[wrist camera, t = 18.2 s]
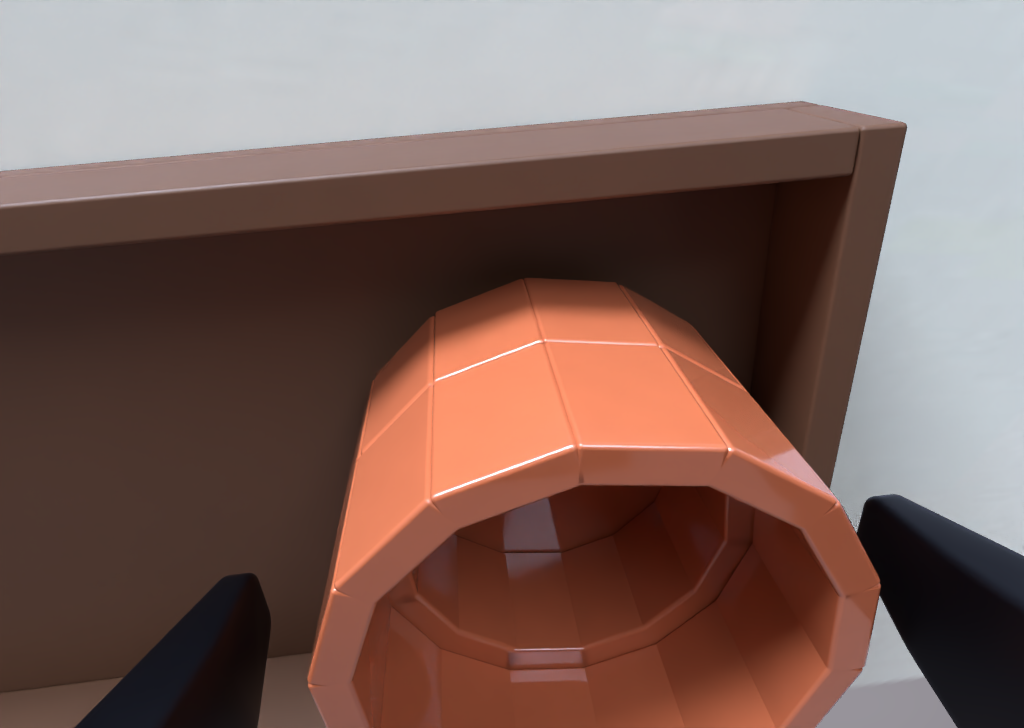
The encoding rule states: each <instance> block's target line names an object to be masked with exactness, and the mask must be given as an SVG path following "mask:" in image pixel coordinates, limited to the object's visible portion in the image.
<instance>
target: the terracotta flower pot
mask: <svg viewBox="0 0 1024 728" xmlns="http://www.w3.org/2000/svg"><path fill="white" fill-rule="evenodd" d="M880 590H881V585H880V578H879V575H878V574H877V572H876V570H875V568H874V566H873V564H872V562H871V560H870V558H869V556H868V554H867V553H866V551H865V549H864V547H863V545H862V543H861V541H860V539H859V537H858V535H857V533H856V531H855V530H854V528H853V526H852V524H851V522H850V520H849V518H848V516H847V514H846V512H845V510H844V508H843V507H842V505H841V503H840V501H839V500H838V499H837V498H836V497H835V495H834V494H833V493H832V492H831V491H830V489H829V488H828V487H827V486H826V485H825V483H824V482H823V481H822V480H821V479H820V477H819V476H818V475H817V474H816V473H815V471H814V470H813V469H812V468H811V467H810V465H809V464H808V463H807V462H806V461H805V459H804V458H803V457H802V456H801V455H800V453H799V452H798V451H797V450H796V449H795V447H794V446H793V445H792V444H791V443H790V441H789V440H788V439H787V438H786V437H785V435H784V434H783V433H782V432H781V431H780V429H779V428H778V427H777V426H776V425H775V423H774V422H773V421H772V420H771V419H770V417H769V416H768V415H767V414H766V413H765V411H764V410H763V409H762V408H761V407H760V406H759V404H758V403H757V402H756V401H755V400H754V398H753V397H751V396H750V394H749V392H748V391H747V390H746V389H745V388H744V386H743V385H742V384H741V383H740V382H739V380H738V379H737V378H736V377H735V376H734V374H733V373H732V372H731V371H730V370H729V368H728V367H727V366H726V365H725V364H724V362H723V361H722V360H721V359H720V358H719V356H718V355H717V354H716V353H715V352H714V350H713V349H712V348H711V347H710V346H709V344H708V343H707V342H706V341H705V340H704V338H703V337H702V336H701V335H700V334H699V332H698V331H697V330H696V329H695V328H694V327H693V326H691V325H690V323H689V322H687V321H685V320H683V319H682V318H680V317H678V316H676V315H675V314H673V313H671V312H669V311H667V310H666V309H664V308H662V307H660V306H659V305H657V304H655V303H653V302H652V301H650V300H648V299H646V298H644V297H643V296H641V295H639V294H637V293H636V292H634V291H632V290H630V289H629V288H627V287H625V286H623V285H618V283H616V282H601V281H582V280H563V279H543V278H524V280H523V279H519V280H516V281H514V282H511V283H508V284H506V285H503V286H501V287H498V288H496V289H493V290H491V291H488V292H485V293H483V294H480V295H478V296H475V297H473V298H470V299H467V300H465V301H462V302H460V303H457V304H455V305H452V306H450V307H447V308H444V309H442V310H439V311H437V312H436V313H435V316H432V317H430V318H429V319H428V320H427V321H426V322H425V323H424V324H423V325H422V326H421V327H420V328H419V329H418V330H417V331H416V332H415V333H414V335H413V336H412V337H411V338H410V339H409V340H408V341H407V342H406V343H405V344H404V345H403V346H402V347H401V348H400V349H399V350H398V351H397V353H396V354H395V355H394V356H393V357H392V358H391V359H390V360H389V361H388V362H387V363H386V364H385V365H384V366H383V367H382V368H381V369H380V371H379V372H378V373H377V374H376V376H375V379H374V380H373V381H372V382H371V385H370V389H369V393H368V397H367V401H366V404H365V408H364V412H363V416H362V420H361V424H360V428H359V432H358V436H357V440H356V444H355V448H354V452H353V457H352V462H351V467H350V472H349V477H348V481H347V486H346V491H345V496H344V501H343V506H342V511H341V515H340V520H339V525H338V530H337V536H336V540H335V544H334V549H333V554H332V558H331V563H330V568H329V573H328V578H327V583H326V587H325V592H324V597H323V602H322V607H321V612H320V616H319V621H318V626H317V631H316V636H315V641H314V646H313V650H312V655H311V660H310V665H309V670H308V675H307V680H308V688H309V690H310V693H311V695H312V697H313V699H314V701H315V704H316V706H317V708H318V710H319V712H320V715H321V717H322V719H323V721H324V723H325V726H326V728H816V727H817V725H818V724H819V723H820V722H821V720H822V719H823V718H824V717H825V716H826V714H827V713H828V712H829V711H830V710H831V708H832V707H833V706H834V705H835V704H836V702H837V701H838V700H839V698H840V697H841V696H842V695H843V694H844V693H845V692H846V690H847V689H848V688H849V687H850V685H851V684H852V683H853V682H854V681H855V679H856V678H857V677H858V676H859V675H860V673H861V672H862V670H863V667H864V666H865V664H866V659H867V654H868V649H869V644H870V639H871V634H872V629H873V625H874V620H875V615H876V610H877V605H878V600H879V595H880Z"/></svg>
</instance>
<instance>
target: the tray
mask: <svg viewBox="0 0 1024 728" xmlns="http://www.w3.org/2000/svg"><path fill="white" fill-rule="evenodd" d="M906 130H907V125H906V123H903V122H899V121H894V120H890V119H885V118H880V117H875V116H871V115H866V114H861V113H856V112H852V111H847V110H842V109H838V108H833V107H828V106H823V105H817V104H813V103H808V102H803V101H799V102H787V103H776V104H765V105H753V106H742V107H730V108H719V109H707V110H696V111H685V112H673V113H662V114H650V115H639V116H627V117H616V118H605V119H593V120H582V121H570V122H559V123H548V124H536V125H525V126H513V127H502V128H490V129H479V130H468V131H456V132H445V133H433V134H422V135H410V136H399V137H388V138H376V139H365V140H353V141H342V142H330V143H319V144H308V145H296V146H285V147H273V148H262V149H250V150H239V151H228V152H216V153H205V154H193V155H182V156H170V157H159V158H148V159H136V160H125V161H113V162H102V163H91V164H79V165H68V166H56V167H45V168H33V169H22V170H11V171H0V728H74V727H75V726H76V725H77V724H78V723H79V722H80V721H81V720H82V719H83V718H84V717H85V716H86V715H87V714H88V713H89V712H90V711H91V710H92V709H93V708H94V707H95V706H96V705H97V704H98V703H99V702H100V701H101V700H102V699H103V698H104V697H105V696H106V695H107V694H108V693H109V692H110V691H111V690H112V689H113V688H114V687H115V686H116V685H117V684H118V683H119V682H120V681H121V680H122V679H123V678H124V677H125V676H126V675H127V674H128V673H129V672H130V671H131V670H132V668H133V667H134V666H135V665H136V664H137V663H138V662H139V661H140V660H141V659H142V658H143V657H144V656H145V655H146V654H147V653H148V652H149V651H150V650H151V649H152V648H153V647H154V646H155V645H156V644H157V643H158V642H159V641H160V640H161V639H162V638H163V637H164V636H165V635H166V634H167V633H168V632H169V631H170V630H171V629H172V628H173V627H174V626H175V625H176V624H177V623H178V622H179V621H180V620H181V619H182V618H183V617H184V616H185V615H186V614H187V613H188V612H189V611H190V610H191V609H192V608H193V607H194V606H195V605H196V604H197V603H198V602H199V601H200V600H201V599H202V597H203V596H204V595H205V594H206V593H207V592H208V591H209V590H210V589H211V588H212V587H213V586H214V585H215V584H216V583H217V582H218V581H219V580H220V579H222V578H223V577H225V576H228V575H234V574H242V573H253V574H255V575H256V576H257V578H258V580H259V583H260V585H261V588H262V591H263V594H264V596H265V599H266V602H267V605H268V608H269V611H270V615H271V632H270V640H269V647H268V654H267V662H266V669H265V677H264V684H263V691H262V699H261V706H260V713H259V721H258V727H257V728H326V726H325V723H324V721H323V719H322V717H321V715H320V712H319V710H318V708H317V706H316V704H315V701H314V699H313V697H312V695H311V693H310V690H309V688H308V680H307V675H308V670H309V665H310V660H311V655H312V650H313V646H314V641H315V636H316V631H317V626H318V621H319V616H320V612H321V607H322V602H323V597H324V592H325V587H326V583H327V578H328V573H329V568H330V563H331V558H332V554H333V549H334V544H335V540H336V536H337V530H338V525H339V520H340V515H341V511H342V506H343V501H344V496H345V491H346V486H347V481H348V477H349V472H350V467H351V462H352V457H353V452H354V448H355V444H356V440H357V436H358V432H359V428H360V424H361V420H362V416H363V412H364V408H365V404H366V401H367V397H368V393H369V389H370V385H371V382H372V381H373V380H374V379H375V376H376V374H377V373H378V372H379V371H380V369H381V368H382V367H383V366H384V365H385V364H386V363H387V362H388V361H389V360H390V359H391V358H392V357H393V356H394V355H395V354H396V353H397V351H398V350H399V349H400V348H401V347H402V346H403V345H404V344H405V343H406V342H407V341H408V340H409V339H410V338H411V337H412V336H413V335H414V333H415V332H416V331H417V330H418V329H419V328H420V327H421V326H422V325H423V324H424V323H425V322H426V321H427V320H428V319H429V318H430V317H432V316H435V313H436V312H437V311H439V310H442V309H444V308H447V307H450V306H452V305H455V304H457V303H460V302H462V301H465V300H467V299H470V298H473V297H475V296H478V295H480V294H483V293H485V292H488V291H491V290H493V289H496V288H498V287H501V286H503V285H506V284H508V283H511V282H514V281H516V280H519V279H523V280H524V278H543V279H563V280H582V281H601V282H616V283H618V285H623V286H625V287H627V288H629V289H630V290H632V291H634V292H636V293H637V294H639V295H641V296H643V297H644V298H646V299H648V300H650V301H652V302H653V303H655V304H657V305H659V306H660V307H662V308H664V309H666V310H667V311H669V312H671V313H673V314H675V315H676V316H678V317H680V318H682V319H683V320H685V321H687V322H689V323H690V325H691V326H693V327H694V328H695V329H696V330H697V331H698V332H699V334H700V335H701V336H702V337H703V338H704V340H705V341H706V342H707V343H708V344H709V346H710V347H711V348H712V349H713V350H714V352H715V353H716V354H717V355H718V356H719V358H720V359H721V360H722V361H723V362H724V364H725V365H726V366H727V367H728V368H729V370H730V371H731V372H732V373H733V374H734V376H735V377H736V378H737V379H738V380H739V382H740V383H741V384H742V385H743V386H744V388H745V389H746V390H747V391H748V392H749V394H750V396H751V397H753V398H754V400H755V401H756V402H757V403H758V404H759V406H760V407H761V408H762V409H763V410H764V411H765V413H766V414H767V415H768V416H769V417H770V419H771V420H772V421H773V422H774V423H775V425H776V426H777V427H778V428H779V429H780V431H781V432H782V433H783V434H784V435H785V437H786V438H787V439H788V440H789V441H790V443H791V444H792V445H793V446H794V447H795V449H796V450H797V451H798V452H799V453H800V455H801V456H802V457H803V458H804V459H805V461H806V462H807V463H808V464H809V465H810V467H811V468H812V469H813V470H814V471H815V473H816V474H817V475H818V476H819V477H820V479H821V480H822V481H823V482H824V483H825V485H826V486H827V487H828V488H829V489H830V485H831V481H832V476H833V471H834V467H835V462H836V457H837V453H838V448H839V443H840V439H841V434H842V429H843V425H844V420H845V415H846V411H847V406H848V401H849V396H850V392H851V387H852V382H853V378H854V373H855V368H856V364H857V359H858V354H859V350H860V345H861V340H862V336H863V331H864V326H865V322H866V317H867V312H868V308H869V303H870V298H871V293H872V289H873V284H874V279H875V275H876V270H877V265H878V261H879V256H880V251H881V247H882V242H883V237H884V233H885V228H886V223H887V219H888V214H889V209H890V204H891V200H892V195H893V190H894V186H895V181H896V176H897V172H898V167H899V162H900V158H901V153H902V148H903V144H904V139H905V134H906Z"/></svg>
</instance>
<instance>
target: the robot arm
mask: <svg viewBox="0 0 1024 728" xmlns="http://www.w3.org/2000/svg"><path fill="white" fill-rule="evenodd" d="M857 535H858V537H859V539H860V541H861V543H862V545H863V547H864V549H865V551H866V553H867V554H868V556H869V558H870V560H871V562H872V564H873V566H874V568H875V570H876V572H877V574H878V575H879V578H880V585H881V590H880V597H881V599H882V601H883V603H884V605H885V607H886V609H887V611H888V613H889V615H890V617H891V618H892V620H893V622H894V624H895V626H896V628H897V630H898V632H899V634H900V636H901V638H902V640H903V641H904V643H905V645H906V647H907V649H908V650H909V652H910V654H911V655H912V657H913V659H914V660H915V662H916V663H917V665H918V667H919V668H920V670H921V671H922V673H923V674H924V676H925V678H926V679H927V681H928V682H929V684H930V685H931V687H932V688H933V690H934V692H935V693H936V695H937V696H938V698H939V699H940V701H941V702H942V704H943V706H944V707H945V709H946V710H947V712H948V714H949V715H950V717H951V718H952V720H953V722H954V723H955V724H956V726H957V727H958V728H1024V556H1023V555H1021V554H1018V553H1016V552H1014V551H1012V550H1010V549H1008V548H1006V547H1004V546H1002V545H1000V544H998V543H996V542H994V541H992V540H990V539H988V538H986V537H984V536H982V535H980V534H978V533H976V532H974V531H972V530H969V529H967V528H965V527H963V526H961V525H959V524H957V523H955V522H953V521H951V520H949V519H947V518H945V517H943V516H941V515H939V514H937V513H935V512H933V511H931V510H929V509H927V508H925V507H922V506H920V505H918V504H916V503H914V502H912V501H910V500H908V499H906V498H904V497H902V496H900V495H895V494H890V495H882V496H873V497H870V498H868V499H867V501H866V502H865V504H864V507H863V511H862V515H861V519H860V523H859V527H858V531H857ZM270 632H271V615H270V611H269V608H268V605H267V602H266V599H265V596H264V594H263V591H262V588H261V585H260V583H259V580H258V578H257V576H256V575H255V574H253V573H242V574H234V575H228V576H225V577H223V578H222V579H220V580H219V581H218V582H217V583H216V584H215V585H214V586H213V587H212V588H211V589H210V590H209V591H208V592H207V593H206V594H205V595H204V596H203V597H202V599H201V600H200V601H199V602H198V603H197V604H196V605H195V606H194V607H193V608H192V609H191V610H190V611H189V612H188V613H187V614H186V615H185V616H184V617H183V618H182V619H181V620H180V621H179V622H178V623H177V624H176V625H175V626H174V627H173V628H172V629H171V630H170V631H169V632H168V633H167V634H166V635H165V636H164V637H163V638H162V639H161V640H160V641H159V642H158V643H157V644H156V645H155V646H154V647H153V648H152V649H151V650H150V651H149V652H148V653H147V654H146V655H145V656H144V657H143V658H142V659H141V660H140V661H139V662H138V663H137V664H136V665H135V666H134V667H133V668H132V670H131V671H130V672H129V673H128V674H127V675H126V676H125V677H124V678H123V679H122V680H121V681H120V682H119V683H118V684H117V685H116V686H115V687H114V688H113V689H112V690H111V691H110V692H109V693H108V694H107V695H106V696H105V697H104V698H103V699H102V700H101V701H100V702H99V703H98V704H97V705H96V706H95V707H94V708H93V709H92V710H91V711H90V712H89V713H88V714H87V715H86V716H85V717H84V718H83V719H82V720H81V721H80V722H79V723H78V724H77V725H76V726H75V727H74V728H257V727H258V721H259V713H260V706H261V699H262V691H263V684H264V677H265V669H266V662H267V654H268V647H269V640H270Z"/></svg>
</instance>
